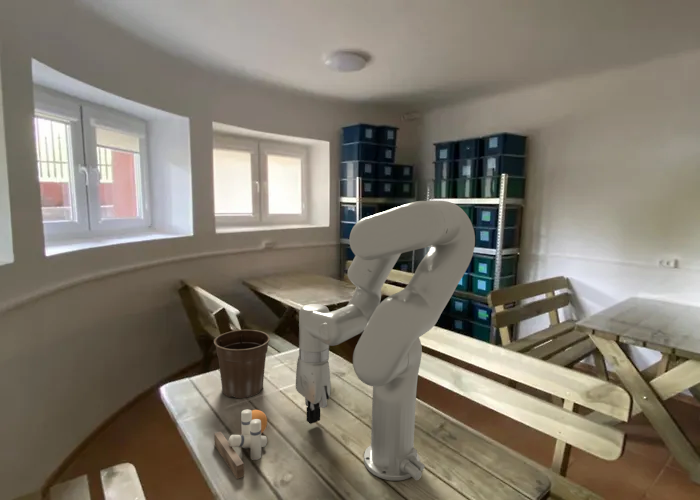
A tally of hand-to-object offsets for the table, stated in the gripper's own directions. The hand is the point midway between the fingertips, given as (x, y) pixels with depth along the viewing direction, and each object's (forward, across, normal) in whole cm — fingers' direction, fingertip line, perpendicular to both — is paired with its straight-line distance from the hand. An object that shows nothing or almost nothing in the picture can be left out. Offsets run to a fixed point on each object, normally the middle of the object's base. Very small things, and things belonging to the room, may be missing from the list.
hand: (313, 420), depth 103 cm
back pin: (+2, +2, -17) cm, 17 cm away
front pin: (0, 0, -14) cm, 14 cm away
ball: (-2, -6, -14) cm, 15 cm away
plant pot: (+2, -29, -7) cm, 30 cm away
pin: (+2, -2, -17) cm, 17 cm away
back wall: (+2, 0, -22) cm, 23 cm away
